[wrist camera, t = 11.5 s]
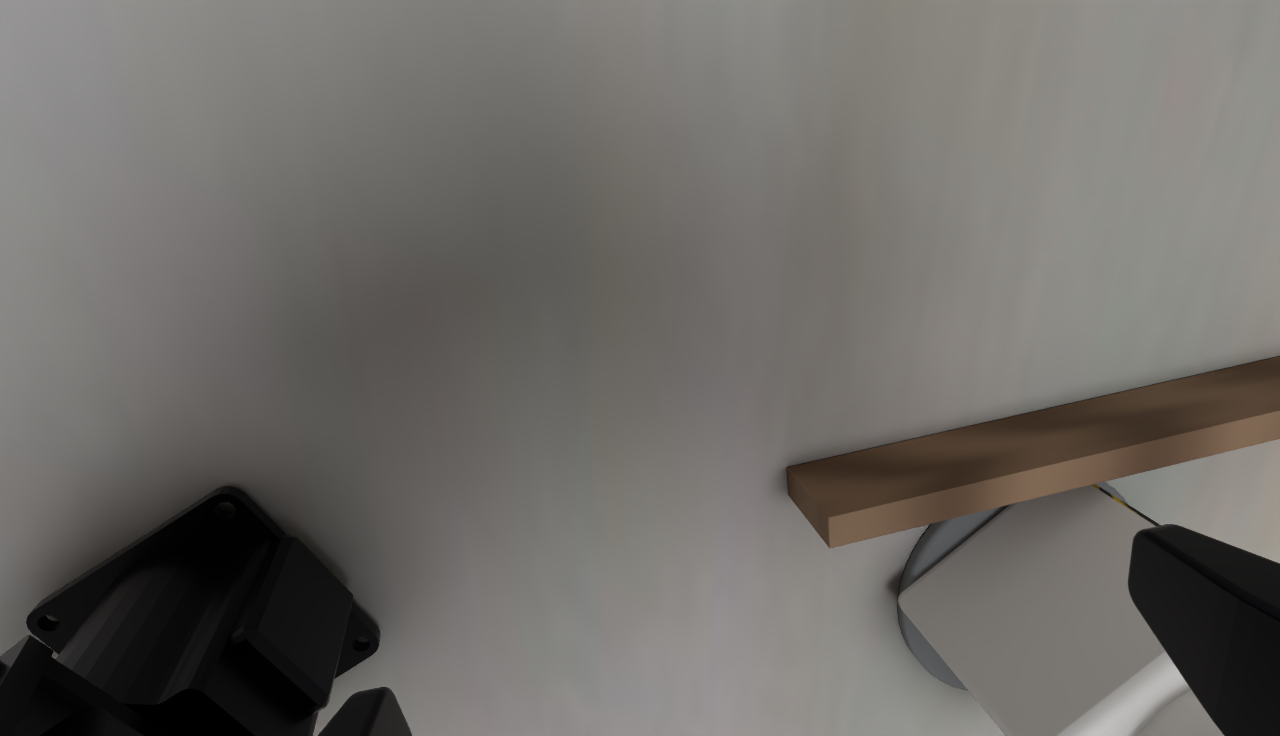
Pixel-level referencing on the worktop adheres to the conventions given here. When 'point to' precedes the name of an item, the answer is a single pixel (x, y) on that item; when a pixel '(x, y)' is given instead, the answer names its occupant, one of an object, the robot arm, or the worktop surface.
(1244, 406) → the board
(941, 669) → the mat
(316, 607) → the robot arm
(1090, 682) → the medicine bottle
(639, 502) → the worktop surface
